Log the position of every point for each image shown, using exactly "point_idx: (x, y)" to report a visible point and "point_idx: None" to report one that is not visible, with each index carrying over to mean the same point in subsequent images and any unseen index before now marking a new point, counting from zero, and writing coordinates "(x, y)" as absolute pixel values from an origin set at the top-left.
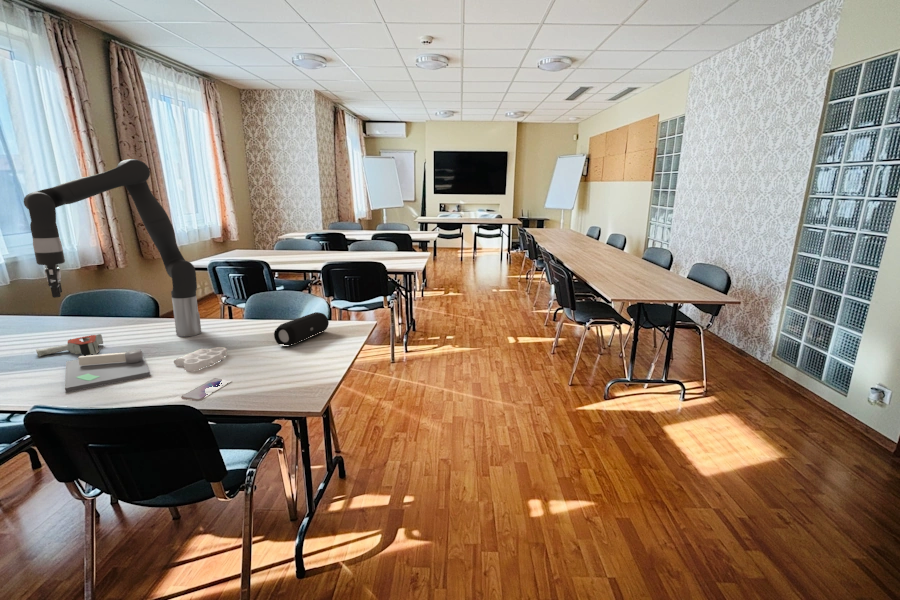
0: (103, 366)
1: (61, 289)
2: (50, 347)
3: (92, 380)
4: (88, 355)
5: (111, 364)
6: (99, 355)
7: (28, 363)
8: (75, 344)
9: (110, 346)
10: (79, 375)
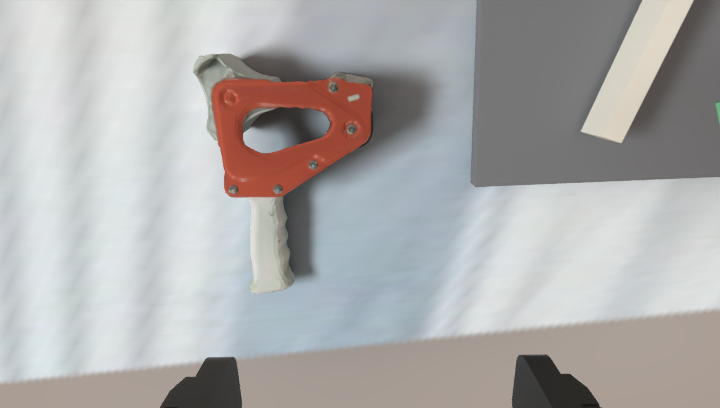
0: None
1: (220, 381)
2: (263, 251)
3: None
4: (621, 102)
5: None
6: (659, 55)
7: (359, 296)
8: (325, 164)
9: (275, 24)
10: (711, 133)
